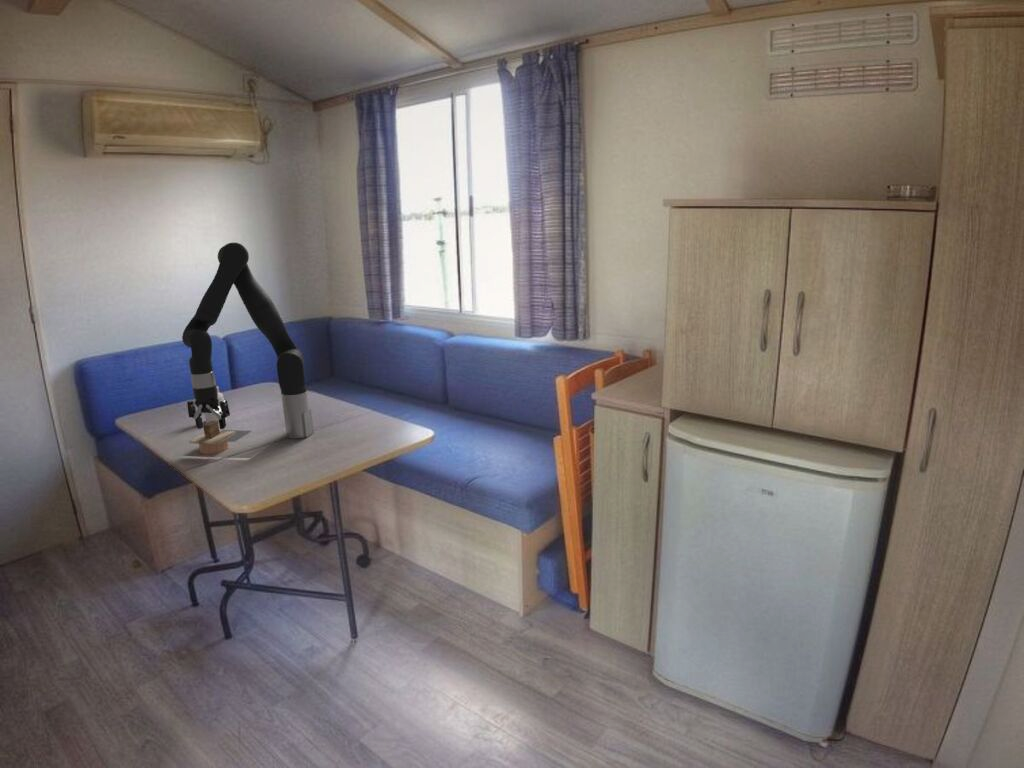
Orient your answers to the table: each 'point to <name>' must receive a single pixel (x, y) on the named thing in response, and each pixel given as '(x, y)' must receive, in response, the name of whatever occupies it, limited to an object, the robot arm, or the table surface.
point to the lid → (212, 434)
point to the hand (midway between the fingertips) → (211, 428)
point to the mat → (237, 435)
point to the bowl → (213, 447)
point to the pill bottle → (213, 417)
